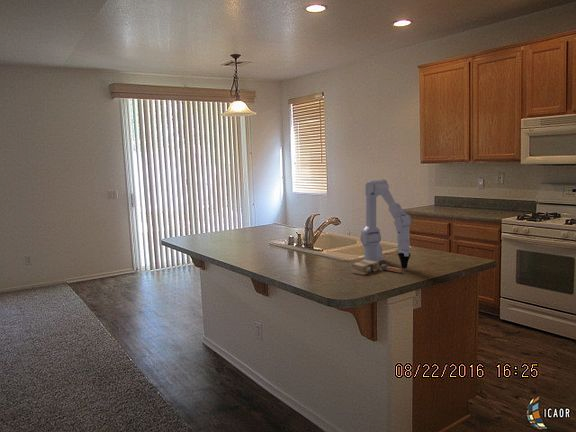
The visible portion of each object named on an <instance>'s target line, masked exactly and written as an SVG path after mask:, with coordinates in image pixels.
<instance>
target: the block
mask: <svg viewBox="0 0 576 432" xmlns="http://www.w3.org/2000/svg"><path fill="white" fill-rule="evenodd" d="M368 266H371V267H372V271H371V272H377V271H380V261H373V260H365V261H361V260H360V261H358V262H355V263H351V273H353V274H357V275H362V276H364V275H366V274H369V272H368Z"/></svg>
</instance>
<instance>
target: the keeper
mask: <svg viewBox="0 0 576 432" xmlns="http://www.w3.org/2000/svg"><path fill="white" fill-rule="evenodd" d="M381 270H382V271H390V272H395V273H402V272H403V268H402V267H401V268H399V267H396V266H395V267H394V266H389V265H388V264H385V263H384V264H383V263H382V264H381Z"/></svg>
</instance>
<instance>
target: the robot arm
mask: <svg viewBox="0 0 576 432" xmlns="http://www.w3.org/2000/svg"><path fill="white" fill-rule="evenodd" d="M389 188H390V185H389V183H388V181H387V180H386V179H383V178H382V179H377V180H368V181H367V182H366V183H365V227H364V228H363V229H361V232H360V233H361V234H360V237H359V239H360V242H361V244H362V246H363V250H364V251H363V252H364V253H363V254H364V259H362V260H360V262H361V261H365V260H373V261H379V262H381V261H384V258H383V248H382V245H381V244H380V242H381V241H382V235H381V229H379V228H378V227H377V198H378V196H381V197H382V198H383V200H384V201H385V202H386V204H387V205H388V211H389V213H390V215H391V216H392V218H393V219H394V221H393V222H394V226H395V231H396V234H397V236H396V237H397V239H396V240H397V248H396V249H394V251H395V252H398V253H397V256H398V258H399V262H400V264H401V265H400V266H401V269H407V268H408V266H409V265H408V263H409V260H410V258H411V253H410V252H411V243H410V242H411V239H410V238H411V237H410V226H412V224H413V220H412V217H411V215H410V214H407V213H406V212H405V211H404V209H403V208H402V206H401V204H400V203H399V202H396V201H395V199H394V198H393V196H392V194H391V191H390V190H389Z"/></svg>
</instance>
